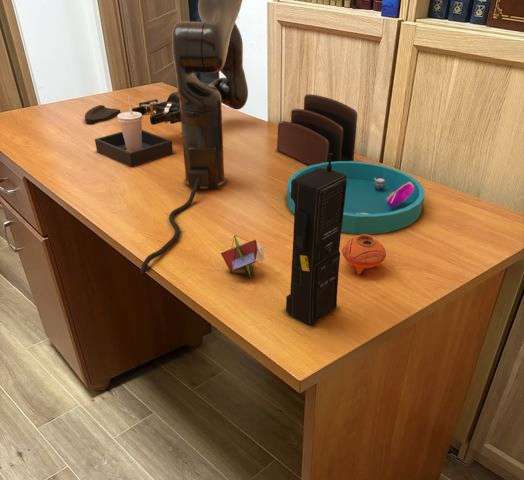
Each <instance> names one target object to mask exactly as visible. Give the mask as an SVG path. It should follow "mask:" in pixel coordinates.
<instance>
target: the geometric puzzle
mask: <svg viewBox="0 0 524 480" xmlns="http://www.w3.org/2000/svg"><path fill="white" fill-rule="evenodd" d="M233 238H234V239H233ZM233 238H231V239H230V241H232V244H231V248H230V249H228V250H225V251H224V250H222V252H220V254H221V257H222V259H223V261H224V263H225V265H226V267H227V269H228V271H229V273H233V274H235V272H236V271H237V270H240V269H242V268H246V271H247V272H248V277H249V278H251V277H252V275H253V273H255V271H256V270H255V271H253V270H254V269H252V271H251V269H250V265H252V264H253V267H252V268H254V267H255V264H256V263H258V262H260V264H259V265H261V264H262V262H263V261H264V260H265V251H264V247H263V246H262V245H261V244H260V243H259V241H258V240H257V239H255V238H254V239H252V240H251V241H248V240H246V239H247V237H245V236H244V237H241V239H242V240H244V241H247V242H245V243H242V244H240V243H239V241H238V239H237V238H239V236H238V234H237V235H236V234H234V236H233ZM245 238H246V239H245ZM229 243H230V242H229ZM229 243H227V245H228V244H229ZM234 243H235V246H234ZM233 246H234V247H233ZM225 248H227V246H225ZM225 248H224V249H225ZM258 268H259V266H257V268H256V269H258ZM234 271H235V272H234ZM239 274H240V276H241V275H242V276H245V277H247V275H246V274H244V273H241V272H239V271H238V273H237V272H236V275H239Z"/></svg>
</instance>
